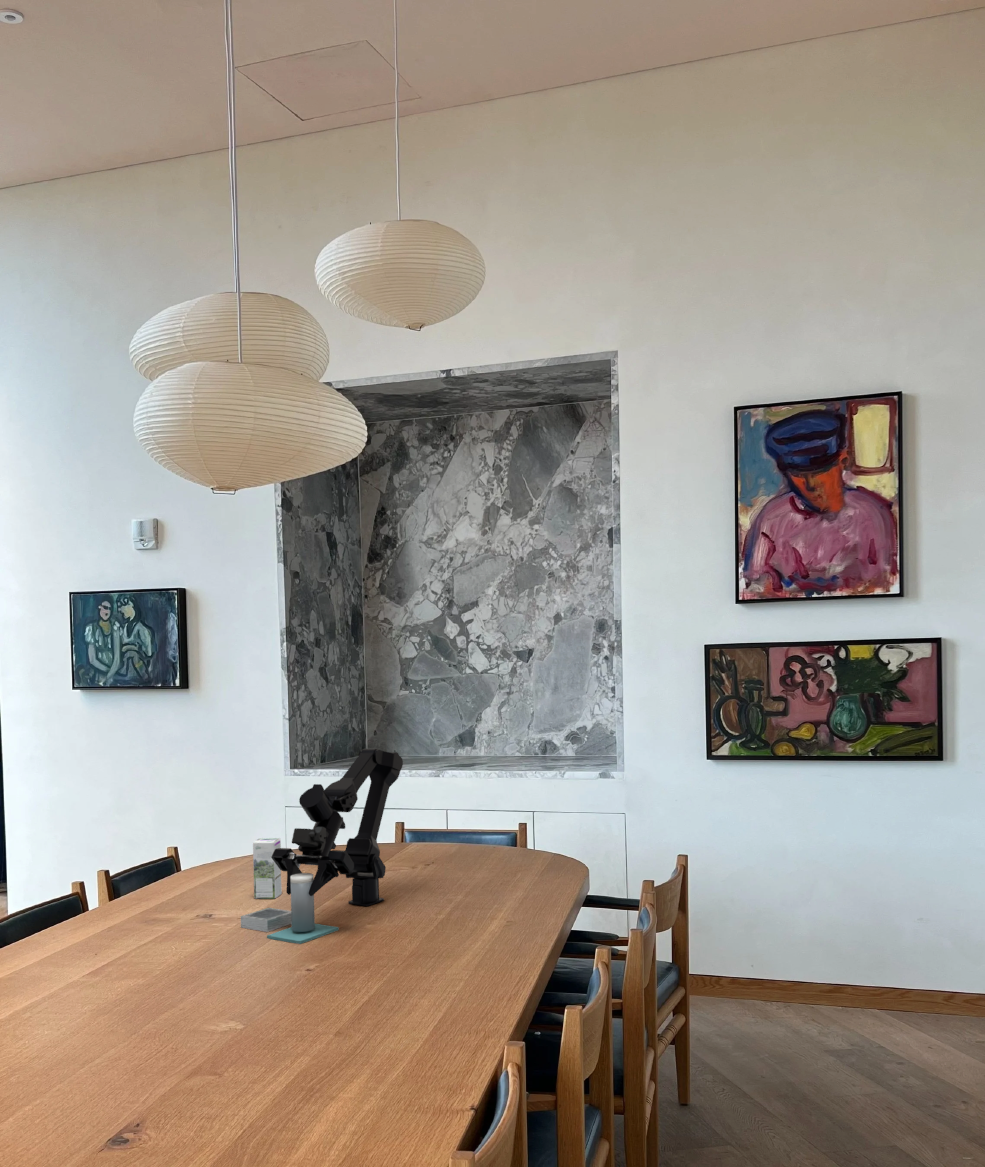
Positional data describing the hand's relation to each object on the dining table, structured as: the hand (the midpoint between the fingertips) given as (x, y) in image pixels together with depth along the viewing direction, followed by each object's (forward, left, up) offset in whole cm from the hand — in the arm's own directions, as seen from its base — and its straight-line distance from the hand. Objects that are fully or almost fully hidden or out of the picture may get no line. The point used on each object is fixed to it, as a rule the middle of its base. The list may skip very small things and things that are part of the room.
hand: (298, 894), depth 218 cm
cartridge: (-1, 0, -8) cm, 8 cm away
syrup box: (-23, -34, -9) cm, 42 cm away
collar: (-3, -13, -9) cm, 16 cm away
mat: (-1, 0, -9) cm, 9 cm away
